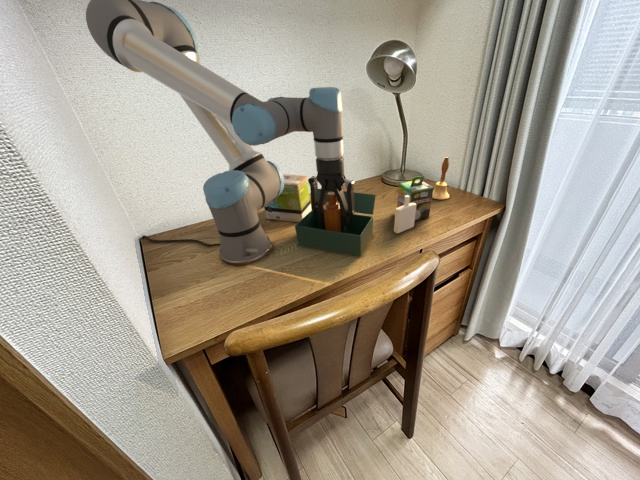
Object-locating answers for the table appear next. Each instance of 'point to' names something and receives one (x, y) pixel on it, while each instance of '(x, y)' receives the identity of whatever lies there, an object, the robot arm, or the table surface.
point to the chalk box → (416, 196)
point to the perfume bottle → (405, 216)
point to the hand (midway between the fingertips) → (334, 232)
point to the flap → (358, 202)
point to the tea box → (291, 200)
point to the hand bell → (442, 183)
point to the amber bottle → (332, 214)
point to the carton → (335, 234)
